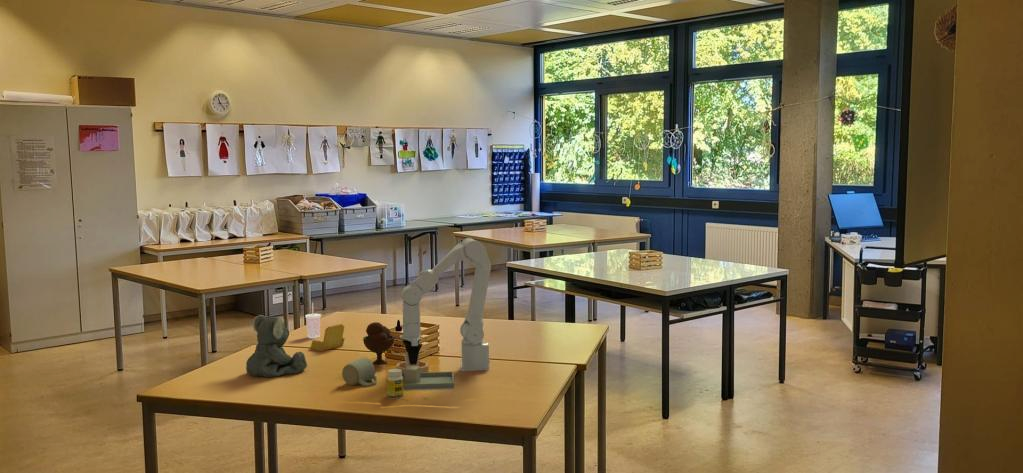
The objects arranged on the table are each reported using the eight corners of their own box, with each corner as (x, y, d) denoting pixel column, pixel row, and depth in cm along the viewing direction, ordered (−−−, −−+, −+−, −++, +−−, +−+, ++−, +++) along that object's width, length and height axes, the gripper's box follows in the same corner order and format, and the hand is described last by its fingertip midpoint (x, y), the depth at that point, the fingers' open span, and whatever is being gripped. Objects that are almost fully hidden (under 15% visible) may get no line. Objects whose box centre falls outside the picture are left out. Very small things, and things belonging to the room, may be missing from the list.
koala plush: (310, 371, 264) (308, 314, 262) (261, 382, 251) (259, 322, 249) (283, 362, 276) (281, 307, 274) (235, 373, 263) (232, 315, 261)
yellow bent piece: (330, 343, 305) (329, 320, 304) (347, 346, 299) (346, 323, 298) (308, 348, 296) (308, 324, 295) (325, 352, 291) (325, 327, 290)
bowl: (429, 368, 266) (428, 360, 266) (428, 377, 256) (428, 368, 255) (397, 369, 265) (397, 361, 265) (395, 378, 255) (395, 369, 254)
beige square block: (420, 381, 249) (420, 366, 249) (416, 385, 245) (416, 369, 245) (408, 381, 250) (407, 365, 249) (404, 384, 246) (403, 369, 245)
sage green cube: (417, 365, 263) (416, 350, 262) (418, 368, 259) (418, 353, 258) (405, 366, 262) (404, 351, 261) (406, 369, 258) (406, 354, 257)
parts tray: (453, 375, 258) (453, 369, 258) (454, 390, 241) (454, 384, 241) (401, 376, 257) (401, 371, 257) (397, 392, 240) (397, 386, 240)
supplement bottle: (396, 401, 231) (395, 373, 230) (383, 398, 234) (383, 371, 233) (406, 396, 235) (406, 369, 234) (394, 394, 238) (393, 367, 237)
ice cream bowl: (389, 369, 266) (388, 325, 265) (358, 367, 268) (357, 324, 267) (400, 361, 276) (399, 319, 275) (370, 359, 279) (369, 318, 277)
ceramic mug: (340, 384, 248) (340, 361, 247) (358, 378, 255) (357, 355, 254) (365, 390, 243) (365, 366, 242) (383, 383, 250) (383, 360, 249)
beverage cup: (303, 338, 312) (302, 303, 311) (309, 335, 318) (308, 301, 317) (317, 339, 311) (316, 304, 310) (324, 335, 317) (322, 301, 316)
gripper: (397, 318, 265) (397, 357, 266) (402, 327, 251) (402, 369, 252) (417, 317, 266) (418, 356, 268) (424, 326, 253) (424, 367, 254)
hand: (412, 362), depth 260 cm, fingers closed on sage green cube, 4 cm apart
